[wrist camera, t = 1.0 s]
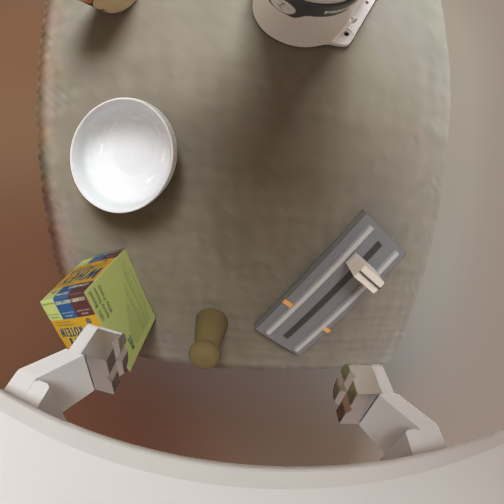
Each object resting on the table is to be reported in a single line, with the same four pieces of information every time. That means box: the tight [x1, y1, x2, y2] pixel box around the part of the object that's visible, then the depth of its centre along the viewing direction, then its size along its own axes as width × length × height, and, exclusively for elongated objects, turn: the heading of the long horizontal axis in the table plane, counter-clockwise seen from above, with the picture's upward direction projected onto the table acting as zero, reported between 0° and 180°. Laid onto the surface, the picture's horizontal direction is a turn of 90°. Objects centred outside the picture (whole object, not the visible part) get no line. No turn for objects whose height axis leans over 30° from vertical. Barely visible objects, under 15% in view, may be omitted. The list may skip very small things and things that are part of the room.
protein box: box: [40, 249, 156, 372], centre depth 46 cm, size 10×15×16 cm
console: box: [255, 210, 406, 356], centre depth 50 cm, size 28×11×3 cm, turn 142°
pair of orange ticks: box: [282, 299, 331, 333], centre depth 51 cm, size 1×11×1 cm, turn 52°
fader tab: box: [346, 252, 384, 293], centre depth 45 cm, size 2×5×5 cm, turn 52°
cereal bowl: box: [70, 98, 178, 213], centre depth 39 cm, size 17×17×7 cm
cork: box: [189, 308, 228, 369], centre depth 50 cm, size 6×6×11 cm
